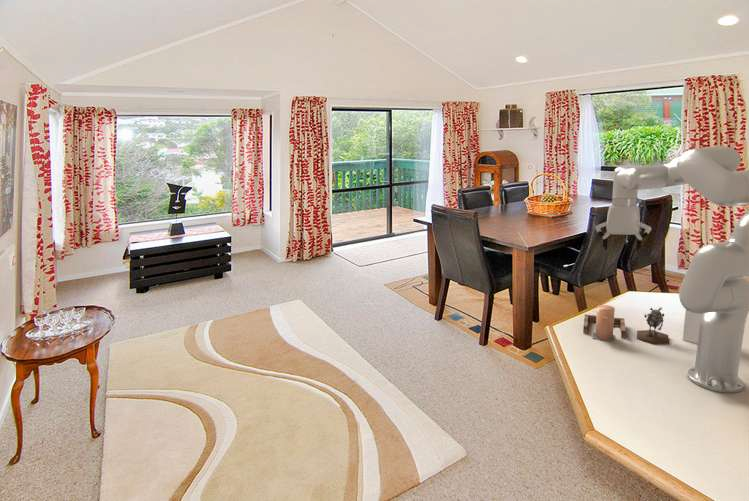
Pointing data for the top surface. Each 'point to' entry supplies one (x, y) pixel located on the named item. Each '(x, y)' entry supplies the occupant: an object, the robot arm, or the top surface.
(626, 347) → the top surface
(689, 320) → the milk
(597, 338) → the mat
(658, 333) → the robot figurine
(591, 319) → the frame
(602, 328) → the peach rounded cylinder
